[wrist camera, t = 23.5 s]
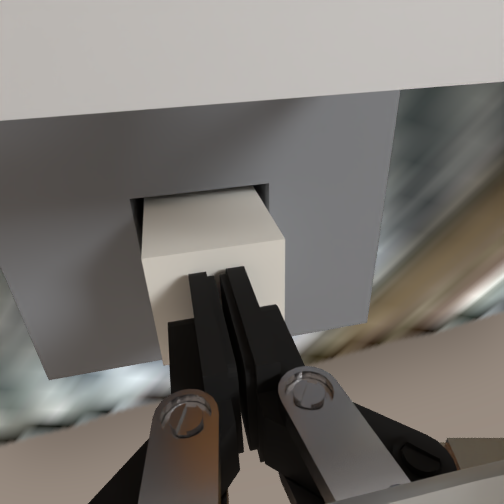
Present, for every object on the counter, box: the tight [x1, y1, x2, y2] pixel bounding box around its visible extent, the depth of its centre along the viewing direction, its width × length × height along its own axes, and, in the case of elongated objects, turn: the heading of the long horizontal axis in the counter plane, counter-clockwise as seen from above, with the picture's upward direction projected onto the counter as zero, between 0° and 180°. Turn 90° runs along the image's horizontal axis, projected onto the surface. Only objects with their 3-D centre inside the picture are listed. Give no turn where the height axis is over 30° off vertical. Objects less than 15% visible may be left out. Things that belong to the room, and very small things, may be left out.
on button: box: [141, 185, 285, 365], centre depth 15 cm, size 4×4×7 cm
